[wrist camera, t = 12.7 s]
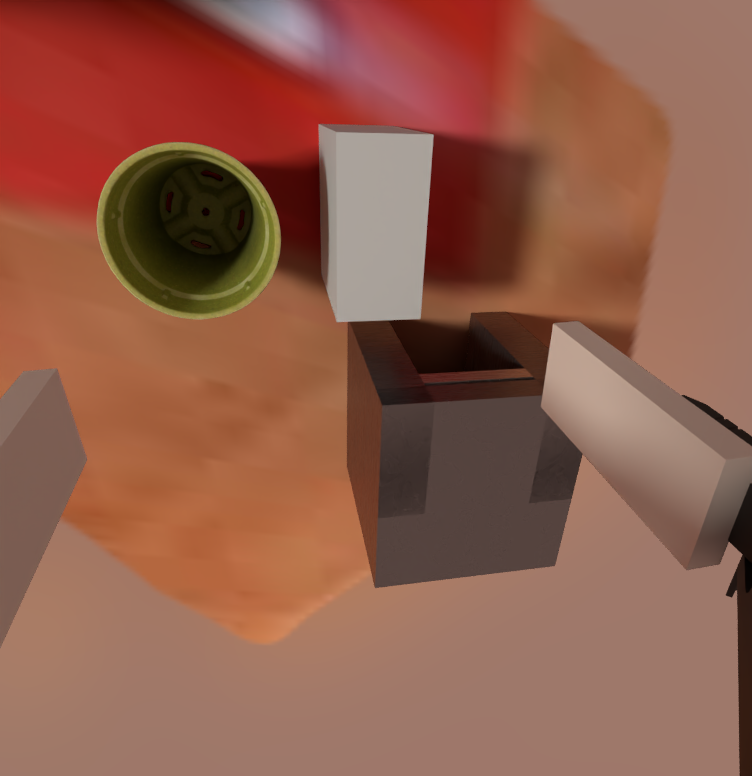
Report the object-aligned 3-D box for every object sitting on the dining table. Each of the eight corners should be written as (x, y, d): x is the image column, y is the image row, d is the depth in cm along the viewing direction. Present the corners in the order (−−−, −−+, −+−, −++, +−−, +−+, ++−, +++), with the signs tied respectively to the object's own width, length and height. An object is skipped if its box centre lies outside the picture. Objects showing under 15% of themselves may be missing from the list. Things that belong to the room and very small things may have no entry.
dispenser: (347, 317, 42) (382, 405, 30) (506, 311, 44) (597, 391, 32) (346, 465, 49) (374, 587, 37) (485, 454, 51) (554, 565, 39)
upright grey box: (318, 123, 36) (336, 132, 27) (393, 125, 37) (433, 134, 28) (321, 273, 40) (337, 322, 32) (387, 272, 41) (420, 319, 33)
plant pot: (137, 113, 34) (100, 118, 26) (289, 154, 36) (295, 169, 29) (127, 261, 38) (92, 302, 30) (265, 288, 40) (265, 332, 33)
